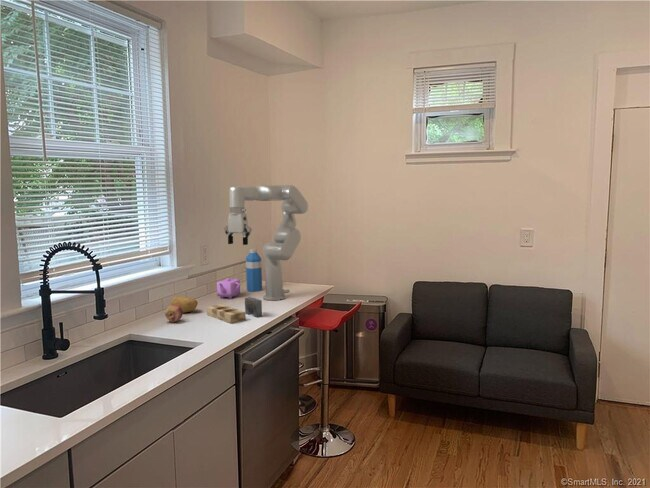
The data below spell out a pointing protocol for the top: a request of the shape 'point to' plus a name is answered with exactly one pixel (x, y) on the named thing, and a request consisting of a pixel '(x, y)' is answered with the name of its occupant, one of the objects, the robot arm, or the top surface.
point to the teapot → (228, 288)
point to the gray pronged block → (253, 307)
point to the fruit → (173, 313)
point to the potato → (185, 303)
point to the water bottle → (253, 271)
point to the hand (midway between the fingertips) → (237, 244)
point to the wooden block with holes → (226, 313)
